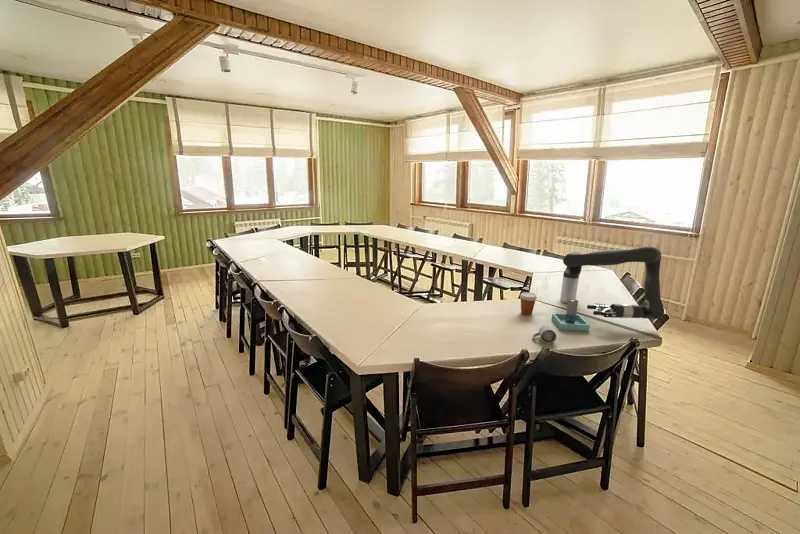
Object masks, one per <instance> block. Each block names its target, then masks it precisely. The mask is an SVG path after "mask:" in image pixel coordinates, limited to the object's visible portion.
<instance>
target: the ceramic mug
mask: <svg viewBox="0 0 800 534" xmlns="http://www.w3.org/2000/svg"><path fill="white" fill-rule="evenodd" d="M538 336H539V337H538ZM533 339H534V340H533ZM532 340H533V341H536V342H537V341H541V342H542V343H543V344H548V345H550V344H553V343H554V342H555V341H556V340H557V333H556V331H555V330H554V328H553V327H551V326H550V325H549V324H546V325H545V324H544V325H542V326H541V327H539V329H538V332H537V333H534V334H533V335H532Z"/></svg>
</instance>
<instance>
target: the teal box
mask: <svg viewBox="0 0 800 534" xmlns="http://www.w3.org/2000/svg"><path fill="white" fill-rule="evenodd" d="M551 320H552V322H553V324H554V325H555V324H556V325H555V326H556V328H559V329H558V330H559V331H560V330H561V332H580V333H581V332H583V333H584V332H585V333H589V332H590V327H591V326H590V323H588V321H587V320H586V319H584V317H583V316H582V315H581V314H578V313H576V320H575V324H568V323H565V320H566V313H562V312H561V313H560V312H559V313H557V312H552V314H551Z"/></svg>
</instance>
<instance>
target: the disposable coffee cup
mask: <svg viewBox="0 0 800 534" xmlns="http://www.w3.org/2000/svg"><path fill="white" fill-rule="evenodd" d="M519 297H520V313H521V314H522V315H525V316H531V315H532V314H533V311H534V307H535V305H536V304H535V303H536V300H537V294H535V293H533V292H528V291H527V292H525V291H524V292H521V293H520V295H519Z"/></svg>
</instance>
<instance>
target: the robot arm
mask: <svg viewBox="0 0 800 534" xmlns="http://www.w3.org/2000/svg"><path fill="white" fill-rule="evenodd" d="M661 261H662V253H661V251H660V249H658V248H656V247H654V246H651V245H647V246H641V247H636V248H630V249H629V248H628V249H622V248H621V249H605V250H597V251H592V252H588V253H580V252H577V251H574V252H570V253H567V254H565V255H564V257H563V259H562V263H563V265H565V266H566V268H565V270H564V271H563V275H562V276H563V277H562V283H561V291H560V297H559V298H560V299H559V301H560V302H562V303H565V304H568V299H575V300H577V291H578V288H579V287H578V286H579V278H580V274H581V272H582V268H583V267H585V266H586V267H587V266H593V267H594V266H595V267H596V266H597V267H598V266H605V267H606V266H617V265H621V264H625V263H644V266H645V280H644V289H643V290H644V299H645V301H647V302H648V304H649V305H639V304H638V305H637V304H635V305H634V304H626V303H625V304H624V303H621V304H620V303H611V304H610V306H608V305H607V304H606V303H594V304H587V305H586V306H587V307H586V308H587V309H588V310H593V312H592V314H593V315H594V316H602V317H604V318H612V319H613V318H615V319H616V318H619V319H650V320H659V319H662V318H663V317H664V315H665V308H664V304H663V301H662V299H661V283H660V272H661V271H660V270H661V269H660V267H661Z"/></svg>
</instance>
